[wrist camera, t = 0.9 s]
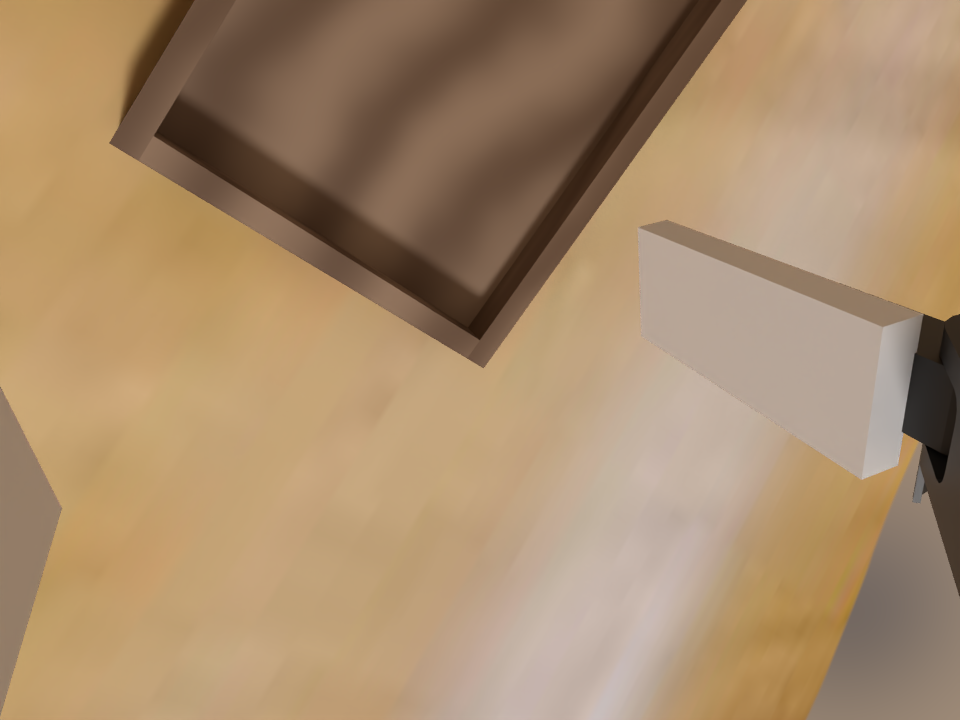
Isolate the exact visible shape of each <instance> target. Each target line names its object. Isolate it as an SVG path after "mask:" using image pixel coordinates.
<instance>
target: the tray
mask: <svg viewBox="0 0 960 720" xmlns="http://www.w3.org/2000/svg"><path fill="white" fill-rule="evenodd" d="M746 1H747V0H195V1H194V2H193V4H192V6H191V7H190V9H189V11H188V12H187V14H186V16H185V17H184V19H183V21H182V22H181V24H180V26H179V27H178V29H177V31H176V32H175V34H174V36H173V37H172V39H171V41H170V42H169V44H168V46H167V47H166V49H165V51H164V52H163V54H162V56H161V57H160V59H159V61H158V62H157V64H156V66H155V68H154V69H153V71H152V73H151V74H150V76H149V78H148V79H147V81H146V83H145V84H144V86H143V88H142V89H141V91H140V93H139V94H138V96H137V98H136V99H135V101H134V103H133V104H132V106H131V108H130V109H129V111H128V113H127V114H126V116H125V118H124V119H123V121H122V123H121V124H120V126H119V128H118V129H117V131H116V133H115V134H114V136H113V138H112V139H111V141H110V144H112V145H113V146H115V147H116V148H118V149H120V150H121V151H123V152H125V153H126V154H128V155H130V156H131V157H133V158H135V159H136V160H138V161H140V162H141V163H143V164H145V165H146V166H148V167H150V168H151V169H153V170H155V171H156V172H158V173H160V174H161V175H163V176H165V177H166V178H168V179H170V180H171V181H173V182H175V183H176V184H178V185H180V186H181V187H183V188H185V189H186V190H188V191H190V192H191V193H193V194H195V195H196V196H198V197H200V198H201V199H203V200H205V201H206V202H208V203H210V204H211V205H213V206H215V207H216V208H218V209H220V210H221V211H223V212H225V213H226V214H228V215H230V216H231V217H233V218H235V219H236V220H238V221H240V222H241V223H243V224H245V225H246V226H248V227H250V228H251V229H253V230H255V231H256V232H258V233H260V234H261V235H263V236H265V237H266V238H268V239H269V240H271V241H273V242H274V243H276V244H278V245H279V246H281V247H283V248H284V249H286V250H288V251H289V252H291V253H293V254H294V255H296V256H298V257H299V258H301V259H303V260H304V261H306V262H308V263H309V264H311V265H313V266H314V267H316V268H318V269H319V270H321V271H323V272H324V273H326V274H328V275H329V276H331V277H333V278H334V279H336V280H338V281H339V282H341V283H343V284H344V285H346V286H348V287H349V288H351V289H353V290H354V291H356V292H358V293H359V294H361V295H363V296H364V297H366V298H368V299H369V300H371V301H373V302H374V303H376V304H378V305H379V306H381V307H383V308H384V309H386V310H388V311H389V312H391V313H393V314H394V315H396V316H398V317H399V318H401V319H403V320H404V321H406V322H408V323H409V324H411V325H413V326H414V327H416V328H418V329H419V330H421V331H422V332H424V333H426V334H427V335H429V336H431V337H432V338H434V339H436V340H437V341H439V342H441V343H442V344H444V345H446V346H447V347H449V348H451V349H452V350H454V351H456V352H457V353H459V354H461V355H462V356H464V357H466V358H467V359H469V360H471V361H472V362H474V363H476V364H477V365H479V366H481V367H482V368H484V367H485V366H486V364H487V363H488V361H489V360H490V359H491V357H492V356H493V354H494V353H495V352H496V350H497V349H498V347H499V346H500V345H501V343H502V342H503V340H504V339H505V338H506V336H507V335H508V334H509V332H510V331H511V329H512V328H513V327H514V325H515V324H516V322H517V321H518V320H519V318H520V317H521V315H522V314H523V313H524V311H525V310H526V308H527V307H528V306H529V304H530V303H531V301H532V300H533V299H534V297H535V296H536V294H537V293H538V292H539V290H540V289H541V287H542V286H543V285H544V283H545V282H546V280H547V279H548V278H549V276H550V275H551V273H552V272H553V271H554V269H555V268H556V266H557V265H558V264H559V262H560V261H561V259H562V258H563V257H564V255H565V254H566V252H567V251H568V250H569V248H570V247H571V246H572V244H573V243H574V241H575V240H576V239H577V237H578V236H579V234H580V233H581V232H582V230H583V229H584V227H585V226H586V225H587V223H588V222H589V220H590V219H591V218H592V216H593V215H594V213H595V212H596V211H597V209H598V208H599V206H600V205H601V204H602V202H603V201H604V199H605V198H606V197H607V195H608V194H609V192H610V191H611V190H612V188H613V187H614V185H615V184H616V183H617V181H618V180H619V178H620V177H621V176H622V174H623V173H624V171H625V170H626V169H627V167H628V166H629V164H630V163H631V162H632V160H633V159H634V157H635V156H636V155H637V153H638V152H639V151H640V149H641V148H642V146H643V145H644V144H645V142H646V141H647V139H648V138H649V137H650V135H651V134H652V132H653V131H654V130H655V128H656V127H657V125H658V124H659V123H660V121H661V120H662V118H663V117H664V116H665V114H666V113H667V111H668V110H669V109H670V107H671V106H672V104H673V103H674V102H675V100H676V99H677V97H678V96H679V95H680V93H681V92H682V90H683V89H684V88H685V86H686V85H687V83H688V82H689V81H690V79H691V78H692V76H693V75H694V74H695V72H696V71H697V69H698V68H699V67H700V65H701V64H702V63H703V61H704V60H705V58H706V57H707V56H708V54H709V53H710V51H711V50H712V49H713V47H714V46H715V44H716V43H717V42H718V40H719V39H720V37H721V36H722V35H723V33H724V32H725V30H726V29H727V28H728V26H729V25H730V23H731V22H732V21H733V19H734V18H735V16H736V15H737V14H738V12H739V11H740V9H741V8H742V7H743V5H744V4H745V2H746Z"/></svg>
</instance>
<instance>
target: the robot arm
mask: <svg viewBox="0 0 960 720" xmlns="http://www.w3.org/2000/svg"><path fill="white" fill-rule="evenodd" d="M638 248H639V280H640V313H641V336H642V337H643V338H645V339H646V340H648V341H649V342H651V343H652V344H654V345H655V346H657V347H658V348H660V349H662V350H663V351H665V352H666V353H668V354H669V355H671V356H672V357H674V358H675V359H677V360H678V361H680V362H682V363H683V364H685V365H686V366H688V367H689V368H691V369H692V370H694V371H695V372H697V373H698V374H700V375H701V376H703V377H705V378H706V379H708V380H709V381H711V382H712V383H714V384H715V385H717V386H718V387H720V388H721V389H723V390H725V391H726V392H728V393H729V394H731V395H732V396H734V397H735V398H737V399H738V400H740V401H741V402H743V403H744V404H746V405H748V406H749V407H751V408H752V409H754V410H755V411H757V412H758V413H760V414H761V415H763V416H764V417H766V418H768V419H769V420H771V421H772V422H774V423H775V424H777V425H778V426H780V427H781V428H783V429H784V430H786V431H788V432H789V433H791V434H792V435H794V436H795V437H797V438H798V439H800V440H801V441H803V442H804V443H806V444H807V445H809V446H811V447H812V448H814V449H815V450H817V451H818V452H820V453H821V454H823V455H824V456H826V457H827V458H829V459H831V460H832V461H834V462H835V463H837V464H838V465H840V466H841V467H843V468H844V469H846V470H847V471H849V472H850V473H852V474H854V475H855V476H857V477H858V478H860V479H861V480H862V479H865V478H867V477H870V476H872V475H875V474H877V473H880V472H882V471H885V470H887V469H890V468H893V467H895V466H898V462H899V456H900V450H901V444H902V438H903V433H905V434H907V435H908V436H910V437H912V438H914V439H916V440H918V441H919V442H921V443H923V444H922V450H921V455H920V461H919V466H918V472H917V477H916V483H915V488H914V493H913V502H916V503H920V502H921V497H922V494H924V493H925V492H927V491H928V494H929V497H930V501H931V504H932V508H933V510H934V514H935V517H936V520H937V524H938V527H939V530H940V534H941V537H942V540H943V543H944V547H945V550H946V553H947V557H948V560H949V563H950V567H951V570H952V573H953V577H954V580H955V583H956V586H957V589H958V593H959V596H960V314H959V315H955V316H952V317H951V318H949V319H948V320H947V321H945V322H944V321H941V320H939V319H936V318H933V317H931V316H928V315H925V314H922V313H920V312H917V311H914V310H911V309H909V308H906V307H903V306H901V305H898V304H895V303H892V302H890V301H886V300H884V299H881V298H879V297H876V296H873V295H871V294H867V293H865V292H862V291H860V290H857V289H854V288H851V287H849V286H846V285H843V284H841V283H837V282H835V281H832V280H829V279H826V278H824V277H821V276H818V275H815V274H813V273H810V272H807V271H805V270H802V269H799V268H796V267H794V266H791V265H788V264H785V263H783V262H780V261H777V260H775V259H772V258H769V257H766V256H764V255H761V254H758V253H755V252H753V251H750V250H747V249H745V248H742V247H739V246H736V245H734V244H731V243H728V242H726V241H723V240H720V239H717V238H715V237H712V236H709V235H706V234H704V233H701V232H698V231H696V230H693V229H690V228H687V227H685V226H682V225H679V224H676V223H674V222H671V221H668V220H665V221H661V222H657V223H653V224H649V225H645V226H641V227H638ZM61 510H62V507H61V505H60V503H59V502H58V500H57V498H56V496H55V494H54V492H53V490H52V488H51V486H50V484H49V482H48V480H47V478H46V476H45V474H44V472H43V470H42V468H41V466H40V464H39V462H38V460H37V458H36V456H35V454H34V452H33V450H32V448H31V446H30V444H29V442H28V440H27V438H26V436H25V434H24V432H23V430H22V428H21V426H20V424H19V422H18V421H17V419H16V417H15V415H14V413H13V411H12V409H11V407H10V405H9V403H8V401H7V399H6V397H5V395H4V393H3V391H2V389H1V387H0V715H1V711H2V708H3V705H4V701H5V698H6V695H7V691H8V688H9V685H10V681H11V678H12V674H13V671H14V668H15V664H16V661H17V658H18V654H19V651H20V648H21V644H22V641H23V637H24V634H25V631H26V627H27V624H28V621H29V617H30V614H31V611H32V607H33V604H34V600H35V597H36V594H37V590H38V587H39V584H40V580H41V577H42V574H43V570H44V567H45V563H46V560H47V557H48V553H49V550H50V547H51V543H52V540H53V537H54V533H55V530H56V526H57V523H58V520H59V516H60V513H61Z"/></svg>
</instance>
